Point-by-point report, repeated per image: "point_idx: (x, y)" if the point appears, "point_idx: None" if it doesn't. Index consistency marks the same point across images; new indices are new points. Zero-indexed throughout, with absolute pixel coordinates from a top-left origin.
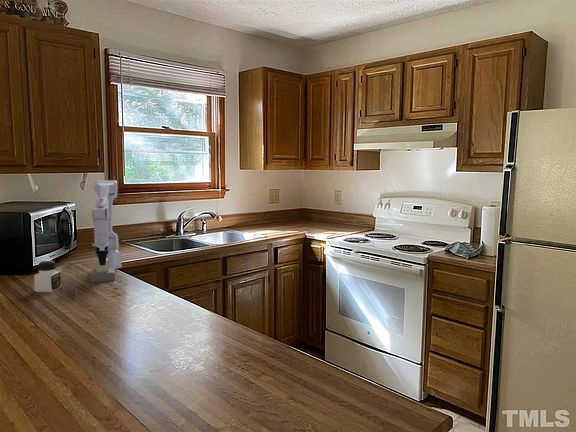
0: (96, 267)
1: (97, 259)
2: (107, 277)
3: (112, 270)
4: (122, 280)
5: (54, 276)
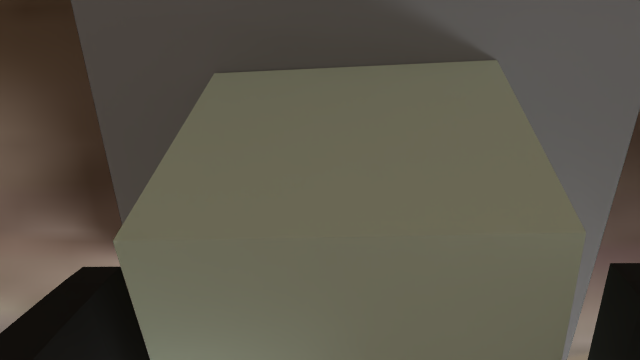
0: (179, 136)
1: (506, 286)
2: None
3: None
4: None
5: None
